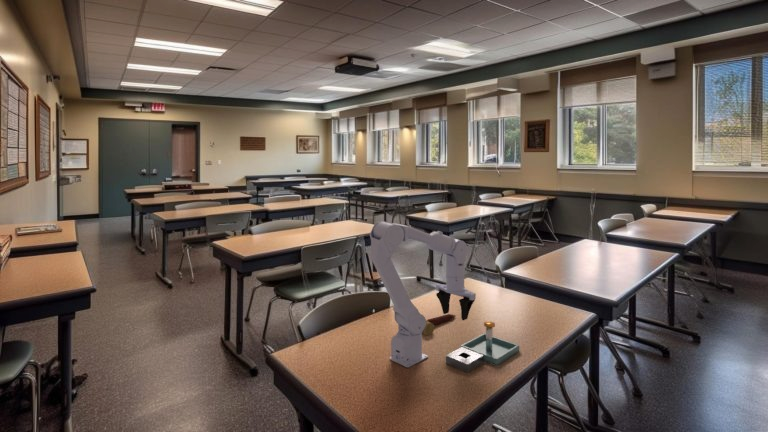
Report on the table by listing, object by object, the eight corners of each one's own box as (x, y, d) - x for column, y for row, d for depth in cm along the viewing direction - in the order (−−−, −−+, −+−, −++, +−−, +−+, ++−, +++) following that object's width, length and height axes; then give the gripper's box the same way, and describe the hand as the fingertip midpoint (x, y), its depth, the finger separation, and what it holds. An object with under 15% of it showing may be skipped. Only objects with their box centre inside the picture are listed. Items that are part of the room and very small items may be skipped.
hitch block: (467, 372, 119) (467, 364, 119) (445, 363, 125) (445, 355, 124) (483, 363, 124) (483, 355, 124) (461, 354, 130) (461, 346, 130)
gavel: (446, 306, 165) (465, 313, 157) (445, 317, 165) (464, 325, 157) (406, 316, 152) (425, 324, 144) (406, 328, 152) (424, 337, 144)
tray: (496, 365, 123) (496, 359, 122) (460, 351, 132) (460, 345, 132) (519, 351, 131) (519, 345, 131) (483, 338, 141) (483, 333, 141)
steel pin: (490, 353, 129) (490, 325, 128) (481, 350, 131) (481, 323, 131) (496, 350, 131) (497, 323, 131) (487, 347, 134) (487, 320, 133)
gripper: (481, 277, 130) (481, 318, 132) (445, 269, 141) (445, 307, 143) (468, 282, 126) (467, 324, 127) (432, 273, 136) (432, 312, 138)
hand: (455, 316), depth 135 cm, fingers open, 7 cm apart
